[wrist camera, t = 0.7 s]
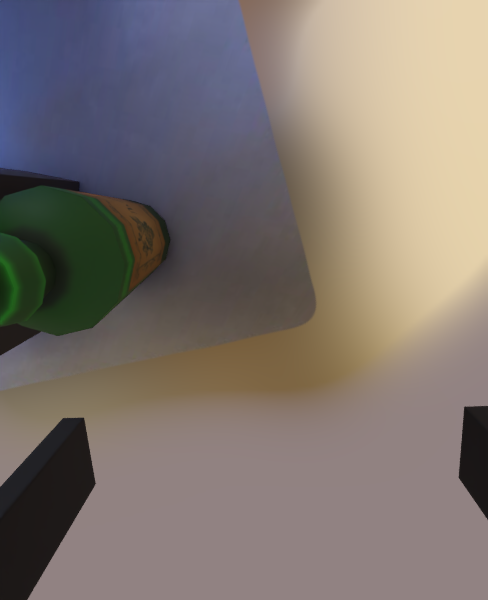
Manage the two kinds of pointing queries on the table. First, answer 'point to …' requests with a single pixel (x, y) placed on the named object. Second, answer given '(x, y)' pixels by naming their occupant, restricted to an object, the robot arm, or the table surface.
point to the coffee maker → (3, 184)
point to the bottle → (73, 256)
